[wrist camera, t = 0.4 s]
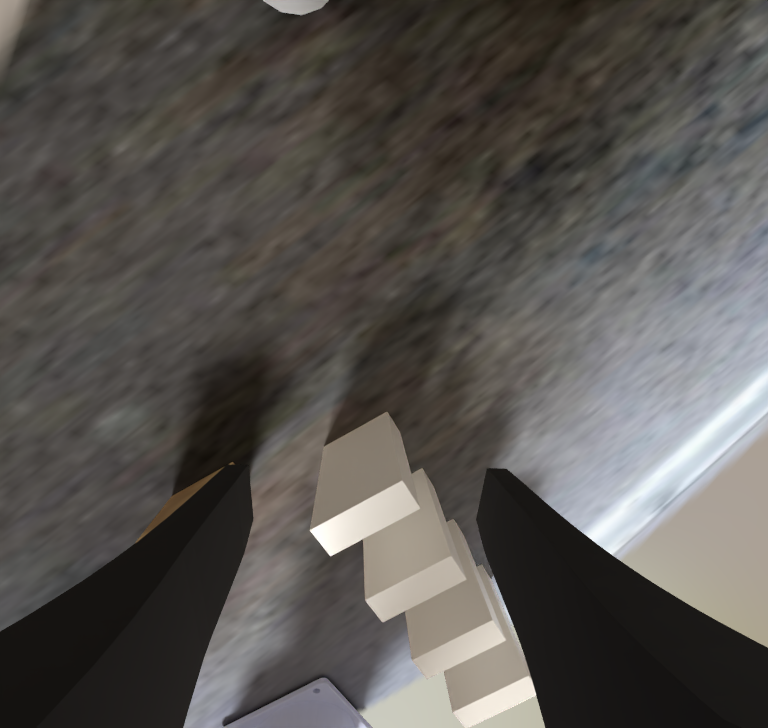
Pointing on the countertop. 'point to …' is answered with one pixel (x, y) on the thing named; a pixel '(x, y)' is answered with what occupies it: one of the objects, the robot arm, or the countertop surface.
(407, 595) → the domino
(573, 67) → the countertop surface
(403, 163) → the countertop surface
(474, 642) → the domino
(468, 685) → the domino
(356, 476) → the domino
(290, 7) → the rook chess piece
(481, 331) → the countertop surface
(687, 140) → the countertop surface
